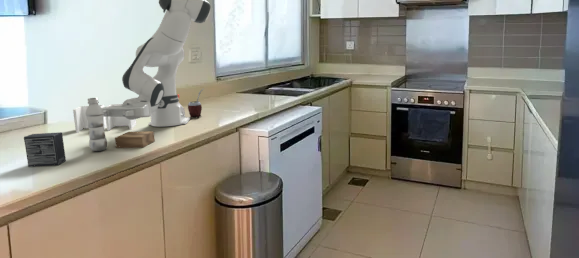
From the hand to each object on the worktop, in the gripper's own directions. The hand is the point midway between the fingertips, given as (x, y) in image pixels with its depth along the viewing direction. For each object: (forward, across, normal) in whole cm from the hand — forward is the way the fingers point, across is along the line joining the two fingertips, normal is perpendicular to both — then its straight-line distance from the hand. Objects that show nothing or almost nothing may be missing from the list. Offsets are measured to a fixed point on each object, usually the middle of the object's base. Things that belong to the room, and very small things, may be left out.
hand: (113, 114), depth 189 cm
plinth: (+1, +9, +12) cm, 15 cm away
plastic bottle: (+12, 0, +12) cm, 17 cm away
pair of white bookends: (-31, -26, +12) cm, 42 cm away
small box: (+30, -7, +12) cm, 34 cm away
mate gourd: (-62, +6, +12) cm, 64 cm away
